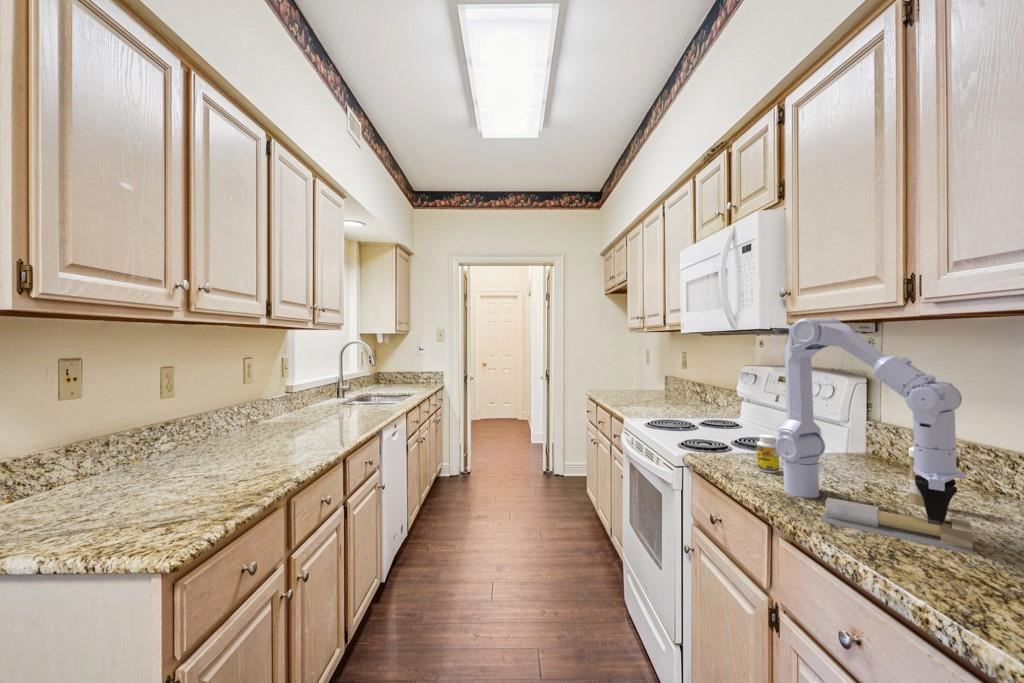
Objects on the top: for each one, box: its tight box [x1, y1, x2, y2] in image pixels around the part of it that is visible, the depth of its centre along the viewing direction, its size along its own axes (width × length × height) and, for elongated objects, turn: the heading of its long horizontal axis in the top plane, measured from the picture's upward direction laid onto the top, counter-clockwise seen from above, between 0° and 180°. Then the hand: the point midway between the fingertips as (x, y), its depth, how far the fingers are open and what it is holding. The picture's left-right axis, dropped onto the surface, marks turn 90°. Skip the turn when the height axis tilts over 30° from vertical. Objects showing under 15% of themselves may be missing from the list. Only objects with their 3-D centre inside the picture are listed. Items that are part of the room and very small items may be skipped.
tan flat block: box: [877, 510, 952, 536], centre depth 85 cm, size 2×12×7 cm, turn 47°
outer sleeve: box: [824, 497, 879, 528], centre depth 91 cm, size 3×8×3 cm, turn 48°
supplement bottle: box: [756, 434, 780, 474], centre depth 128 cm, size 6×6×10 cm
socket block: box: [940, 516, 974, 549], centre depth 81 cm, size 5×4×4 cm
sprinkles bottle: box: [908, 446, 925, 508], centre depth 98 cm, size 5×5×14 cm
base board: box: [820, 509, 975, 555], centre depth 87 cm, size 10×22×1 cm, turn 48°
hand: (935, 518), depth 82 cm, fingers closed on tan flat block, 2 cm apart
